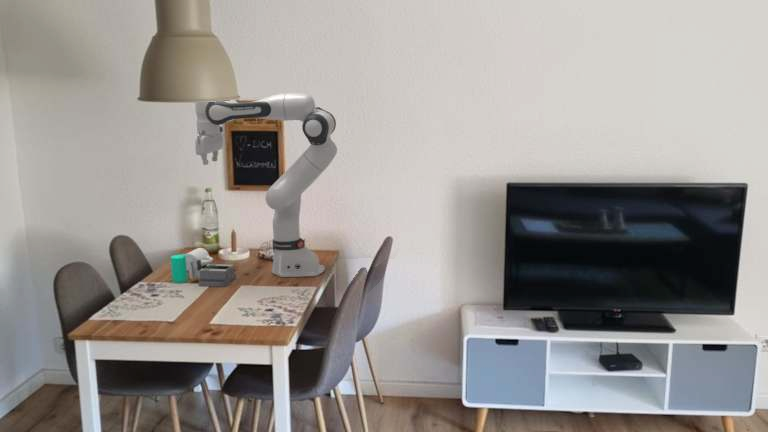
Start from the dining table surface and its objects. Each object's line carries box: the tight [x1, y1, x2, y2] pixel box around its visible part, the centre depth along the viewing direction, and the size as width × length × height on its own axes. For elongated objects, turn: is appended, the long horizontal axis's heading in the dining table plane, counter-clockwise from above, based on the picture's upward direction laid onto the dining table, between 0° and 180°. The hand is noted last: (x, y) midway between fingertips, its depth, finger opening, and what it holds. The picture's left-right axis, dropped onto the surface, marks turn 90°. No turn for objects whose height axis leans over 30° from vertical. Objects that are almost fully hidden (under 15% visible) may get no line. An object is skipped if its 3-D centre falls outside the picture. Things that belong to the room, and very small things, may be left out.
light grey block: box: [188, 258, 202, 280], centre depth 306 cm, size 9×6×7 cm, turn 80°
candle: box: [170, 253, 188, 284], centre depth 308 cm, size 6×6×12 cm
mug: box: [184, 247, 214, 272], centre depth 325 cm, size 12×10×8 cm
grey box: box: [198, 263, 237, 288], centre depth 305 cm, size 11×12×6 cm
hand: (210, 162), depth 313 cm, fingers open, 8 cm apart
